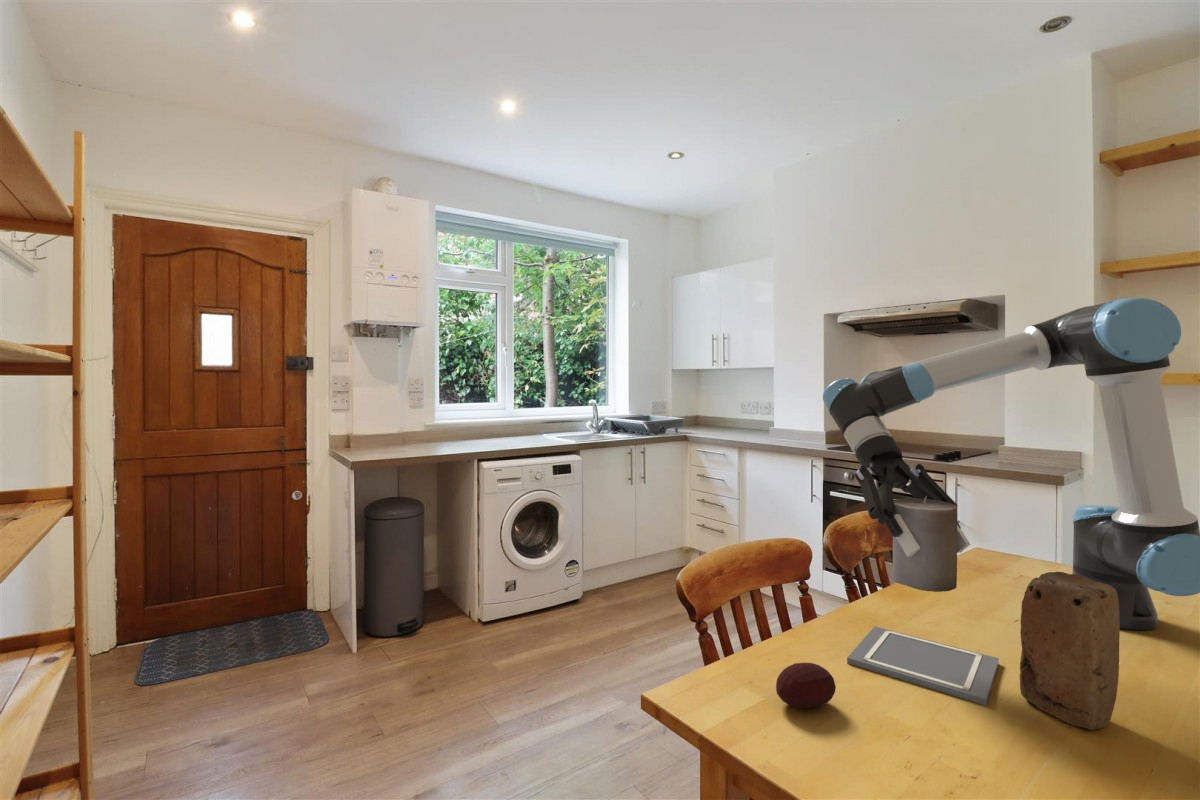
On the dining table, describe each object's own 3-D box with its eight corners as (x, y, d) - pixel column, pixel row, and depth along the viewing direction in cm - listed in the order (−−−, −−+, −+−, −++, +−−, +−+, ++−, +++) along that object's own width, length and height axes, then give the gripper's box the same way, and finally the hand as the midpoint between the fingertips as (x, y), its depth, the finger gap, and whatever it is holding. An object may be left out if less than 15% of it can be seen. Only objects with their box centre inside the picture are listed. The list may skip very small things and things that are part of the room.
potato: (845, 715, 83) (846, 675, 83) (788, 721, 82) (788, 680, 82) (817, 688, 91) (817, 651, 91) (764, 693, 89) (764, 655, 89)
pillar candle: (948, 576, 102) (949, 492, 102) (963, 595, 93) (964, 503, 92) (888, 571, 105) (888, 489, 105) (896, 588, 96) (897, 499, 96)
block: (1123, 726, 81) (1127, 585, 81) (1094, 739, 78) (1098, 593, 78) (1037, 688, 91) (1041, 563, 91) (1009, 699, 88) (1012, 570, 87)
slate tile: (998, 663, 99) (998, 657, 99) (985, 705, 86) (986, 698, 86) (874, 631, 112) (874, 625, 112) (847, 663, 99) (847, 656, 99)
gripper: (909, 456, 116) (977, 557, 101) (814, 459, 110) (871, 566, 95) (931, 432, 111) (1006, 534, 96) (832, 433, 105) (895, 543, 90)
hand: (939, 550), depth 96 cm, fingers closed on pillar candle, 9 cm apart
